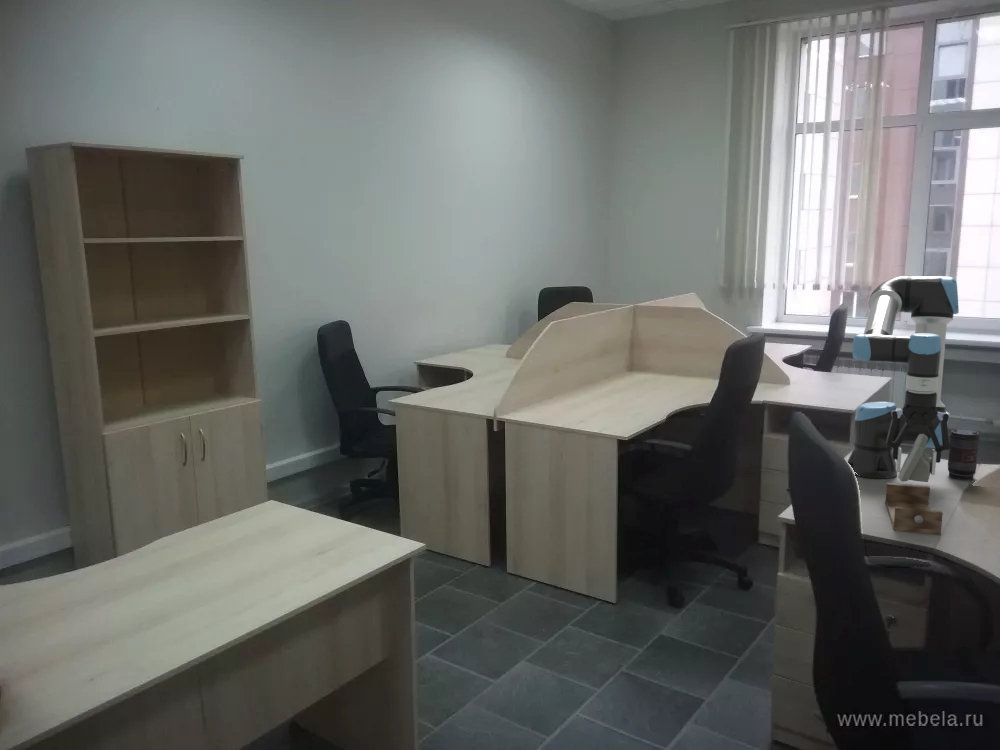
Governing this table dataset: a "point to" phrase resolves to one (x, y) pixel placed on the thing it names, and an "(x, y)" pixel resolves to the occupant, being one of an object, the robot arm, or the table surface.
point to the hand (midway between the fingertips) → (914, 472)
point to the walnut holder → (912, 509)
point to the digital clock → (916, 462)
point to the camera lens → (963, 454)
